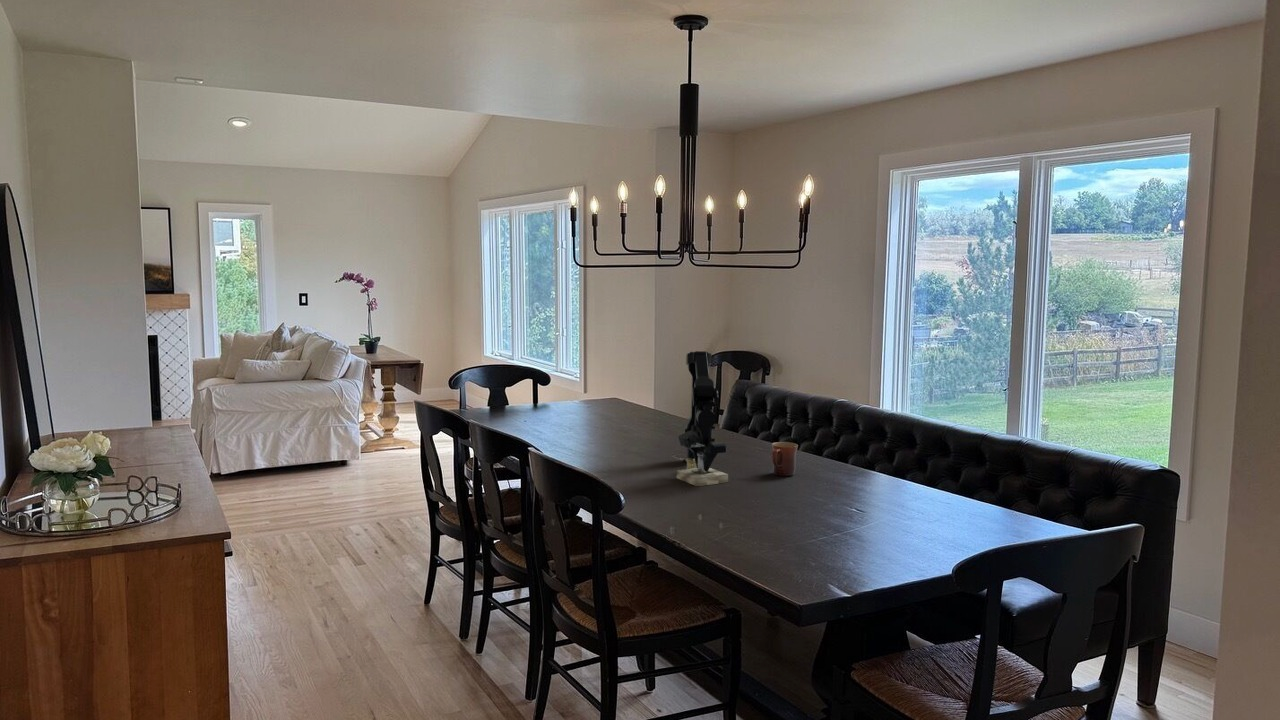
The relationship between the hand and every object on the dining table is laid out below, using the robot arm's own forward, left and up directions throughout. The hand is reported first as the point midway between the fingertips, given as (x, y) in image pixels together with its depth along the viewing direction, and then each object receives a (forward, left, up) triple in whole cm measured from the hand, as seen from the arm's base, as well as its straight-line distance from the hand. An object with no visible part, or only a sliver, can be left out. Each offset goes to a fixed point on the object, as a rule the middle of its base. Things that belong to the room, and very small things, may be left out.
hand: (702, 469), depth 285 cm
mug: (+6, +28, -4) cm, 29 cm away
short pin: (-11, +3, -4) cm, 12 cm away
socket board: (0, 0, -4) cm, 4 cm away
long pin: (0, 0, -4) cm, 4 cm away
